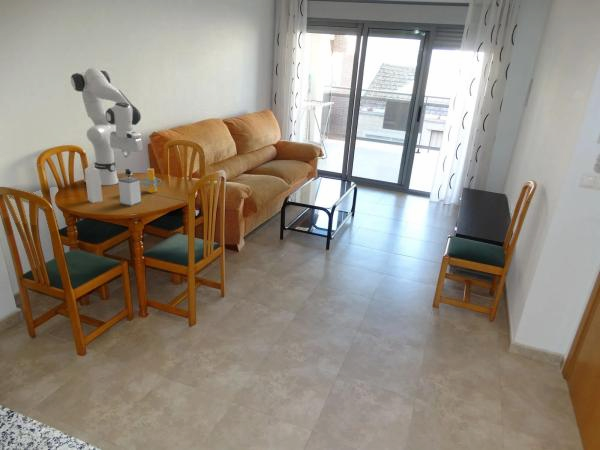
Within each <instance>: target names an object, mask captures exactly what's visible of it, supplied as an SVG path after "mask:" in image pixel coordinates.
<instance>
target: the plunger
mask: <svg viewBox="0 0 600 450" xmlns="http://www.w3.org/2000/svg"><path fill="white" fill-rule="evenodd" d="M132 175H133V172H132V169H130V168H126V169H125V172H124V176H125V177H128V180H129V179H130V177H131V176H132Z"/></svg>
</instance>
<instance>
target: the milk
mask: <svg viewBox="0 0 600 450" xmlns="http://www.w3.org/2000/svg"><path fill="white" fill-rule="evenodd" d="M94 167H95V166H94V165H93V164H91V163H88V166H87V167H86V168H85V169H84V176H85V179H86V182H85V183H86V184H85V185H86V186H85V187H86V193H87V194H86V195H87V200H88V201H89V202H90V203H92V204H94V203H100V202H103V193H102V185H101V182H100V173H99V170H97V169H95V168H94Z"/></svg>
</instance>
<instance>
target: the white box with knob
mask: <svg viewBox="0 0 600 450" xmlns="http://www.w3.org/2000/svg"><path fill="white" fill-rule="evenodd" d="M118 182H119V183H118V190H119V200H120V201H119V202H120V205H122V206H127V207H134V206H137V205H140V204H141V203H142V199H141V197H142V191H141V190H142V187H141V179H140V178H137V177H132V176H130V179H129V180H128V176H125V177H122V178H118Z"/></svg>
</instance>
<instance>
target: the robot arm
mask: <svg viewBox="0 0 600 450" xmlns="http://www.w3.org/2000/svg"><path fill="white" fill-rule="evenodd" d="M70 83H71V86H72V87H73V89H74V90H75V91H76V92H80V93H81V94H82V95H81V96H82V102H83V104H84V106H85V107H84V108H85V112H86V115H87V117H88V118H89V119H90V120H91V121H92V123H93V126H91V127H90V128H88V130H87V132H86V137H87V139H88V141H90V142H91V145H92V148H93V149H94V154H95V155H94V156H95V162H94V163H92V165H93V167H94V168H95V169H97V170H99V173H100V182H101V186H113V185H116V184H119V182H118V179H119V178H118V174H117V169H116V161H115V153H114V150H113V149H118V150H121V153H122V154H123V158H125V159H130V158H131V153H132V152H135V153H141V152H142V151H143V148H144V147H143V141H142V134H141V133H140V132H138V131H136V130H135V129H134V126H136V125H138V123H140V121H141V118H142V115H141V112H140V110H139V109H138V108H137V107H135V105H133V104H132V103H131V101H130V100H129V99H128V98H127V96H126V95H125V94H124V93H123V92H122V91H121V90H120V89H118V88H117V87H115V86H114V85H112V84H111V78H110V76H109V73H108V72H107V71H106V70H100V69H98V68H96V67H90V68H87V70H86V71H83V72H76V73H73V74H72V75H71V76H70ZM104 100H107V101H112V102H115V104H114V106H112V107H109V108H107V109H106V106H105V103H104ZM83 182H84V183H86V178H85V179H84V180H83Z"/></svg>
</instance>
